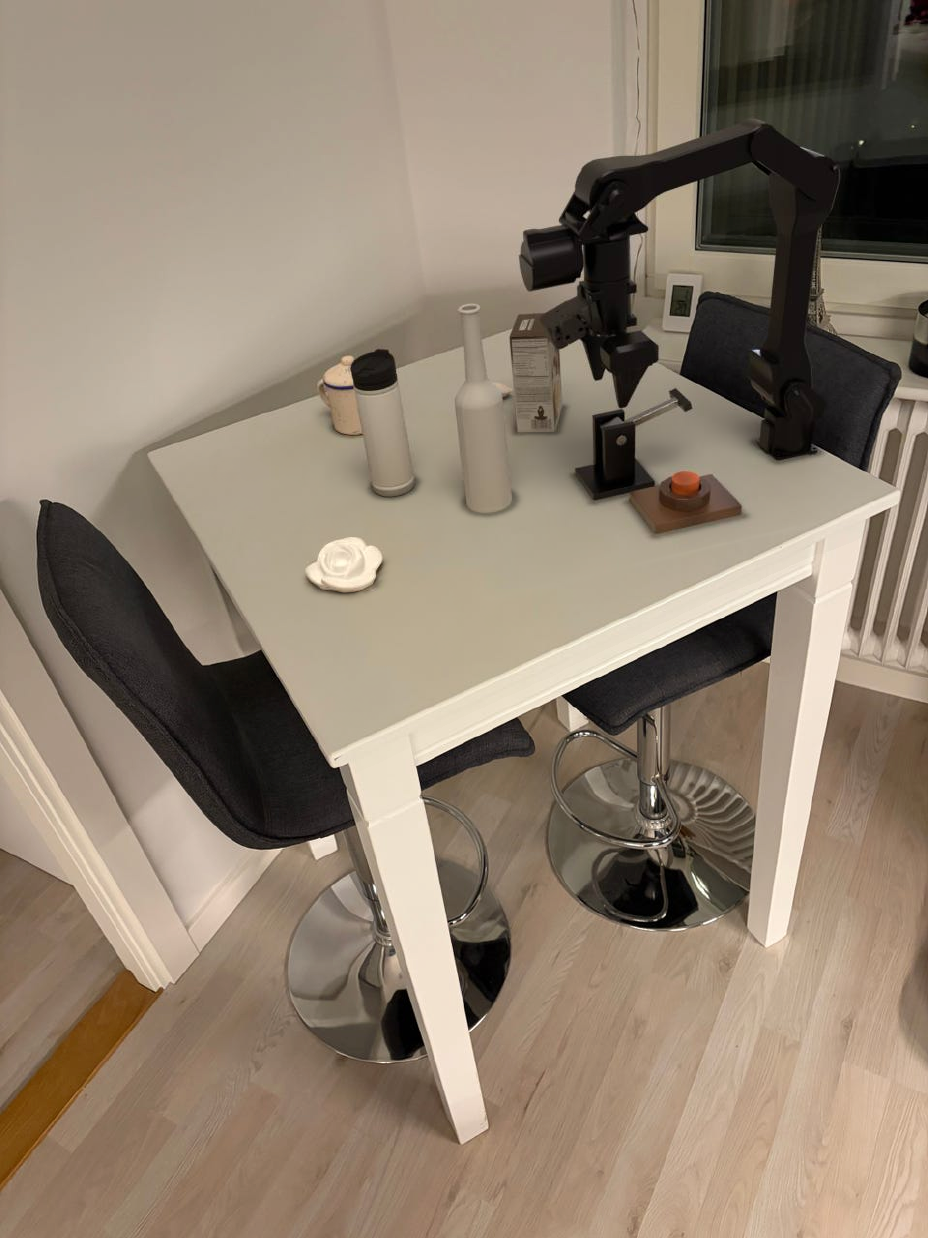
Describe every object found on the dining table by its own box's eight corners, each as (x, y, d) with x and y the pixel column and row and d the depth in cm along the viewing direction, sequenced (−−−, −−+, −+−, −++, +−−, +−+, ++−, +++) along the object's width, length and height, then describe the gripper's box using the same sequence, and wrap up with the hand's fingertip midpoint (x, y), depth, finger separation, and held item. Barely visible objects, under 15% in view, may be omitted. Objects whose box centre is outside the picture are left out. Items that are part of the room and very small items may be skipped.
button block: (711, 484, 129) (712, 461, 127) (741, 516, 122) (743, 493, 120) (629, 502, 128) (629, 480, 126) (655, 535, 121) (655, 512, 119)
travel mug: (423, 477, 139) (403, 349, 127) (403, 499, 135) (380, 369, 123) (386, 472, 142) (364, 346, 129) (365, 494, 137) (340, 366, 125)
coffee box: (524, 407, 154) (517, 312, 144) (563, 407, 153) (558, 311, 143) (516, 433, 147) (508, 335, 137) (556, 433, 146) (551, 334, 136)
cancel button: (692, 480, 125) (692, 468, 124) (703, 492, 122) (704, 481, 121) (666, 485, 124) (667, 474, 123) (677, 498, 122) (678, 487, 120)
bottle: (488, 484, 136) (468, 294, 118) (521, 498, 132) (506, 303, 114) (456, 504, 132) (431, 311, 115) (489, 519, 128) (469, 321, 111)
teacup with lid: (397, 415, 157) (386, 349, 150) (366, 439, 151) (353, 372, 144) (340, 406, 162) (326, 341, 155) (308, 429, 156) (293, 363, 149)
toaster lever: (678, 398, 130) (674, 383, 128) (693, 412, 126) (690, 397, 124) (600, 434, 130) (596, 420, 129) (613, 450, 126) (608, 436, 125)
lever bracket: (633, 462, 136) (634, 400, 130) (654, 488, 130) (656, 424, 124) (575, 475, 135) (572, 413, 129) (593, 502, 129) (592, 438, 123)
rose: (364, 516, 124) (389, 551, 117) (370, 544, 126) (394, 580, 119) (292, 539, 121) (313, 576, 114) (300, 567, 124) (321, 605, 117)
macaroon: (485, 392, 160) (484, 379, 159) (514, 391, 159) (513, 377, 158) (482, 404, 157) (481, 390, 155) (512, 402, 156) (510, 389, 154)
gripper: (522, 265, 120) (531, 378, 129) (568, 312, 105) (574, 436, 115) (604, 248, 121) (607, 362, 131) (661, 293, 106) (659, 417, 116)
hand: (609, 393), depth 123 cm, fingers open, 9 cm apart
